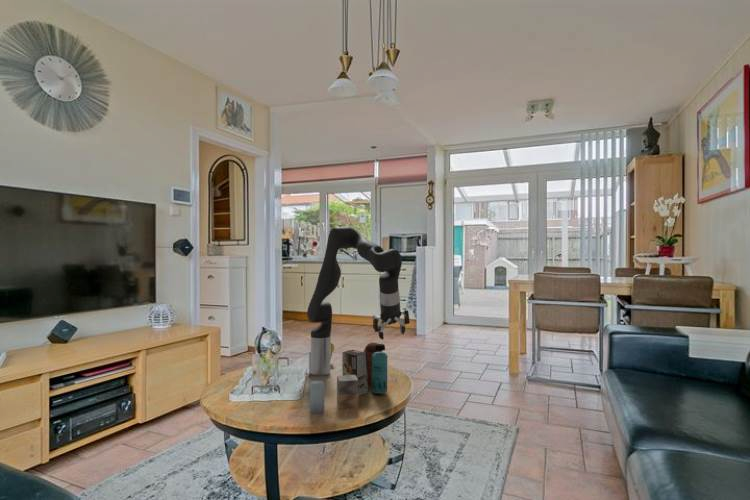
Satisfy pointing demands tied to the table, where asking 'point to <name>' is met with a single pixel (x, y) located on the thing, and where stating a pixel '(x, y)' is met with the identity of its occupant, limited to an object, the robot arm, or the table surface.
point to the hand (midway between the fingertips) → (392, 335)
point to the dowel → (317, 397)
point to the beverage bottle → (379, 370)
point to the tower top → (347, 384)
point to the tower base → (347, 400)
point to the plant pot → (331, 350)
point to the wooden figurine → (370, 359)
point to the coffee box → (356, 368)
